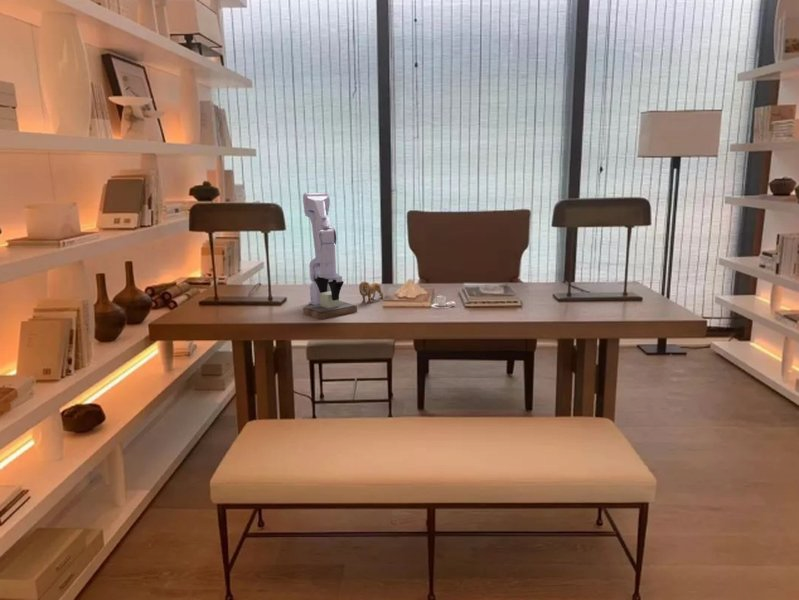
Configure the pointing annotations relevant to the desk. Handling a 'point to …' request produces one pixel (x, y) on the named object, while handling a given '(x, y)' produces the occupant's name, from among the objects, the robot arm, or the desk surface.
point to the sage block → (328, 300)
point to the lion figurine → (369, 290)
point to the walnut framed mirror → (329, 310)
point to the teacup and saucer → (443, 302)
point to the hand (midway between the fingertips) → (329, 298)
